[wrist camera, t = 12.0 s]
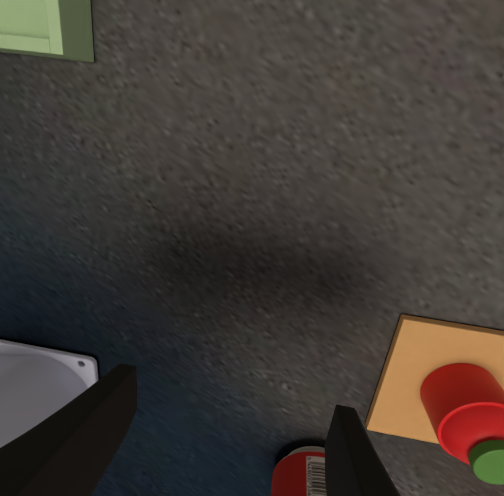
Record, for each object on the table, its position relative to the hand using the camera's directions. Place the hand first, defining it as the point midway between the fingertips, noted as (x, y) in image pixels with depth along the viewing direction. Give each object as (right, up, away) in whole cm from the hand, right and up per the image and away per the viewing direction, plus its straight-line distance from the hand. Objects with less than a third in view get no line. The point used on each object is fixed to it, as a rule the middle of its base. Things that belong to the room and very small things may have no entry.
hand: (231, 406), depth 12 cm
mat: (+13, -3, +9) cm, 17 cm away
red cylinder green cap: (+13, -3, +9) cm, 16 cm away
